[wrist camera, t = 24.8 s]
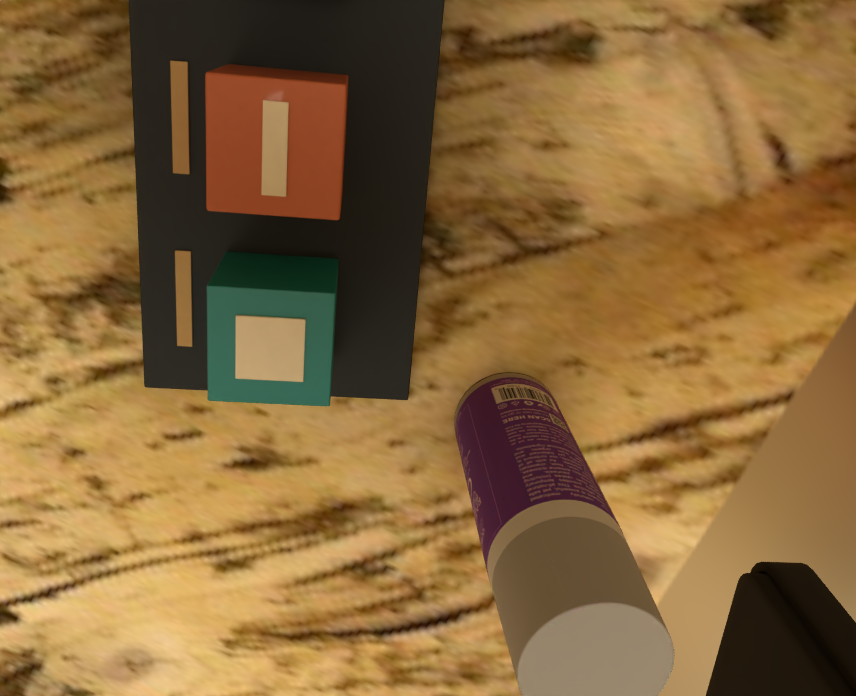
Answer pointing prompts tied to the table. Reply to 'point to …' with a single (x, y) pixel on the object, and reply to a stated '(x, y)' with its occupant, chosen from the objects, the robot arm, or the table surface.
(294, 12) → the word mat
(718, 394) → the table surface
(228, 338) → the green cube
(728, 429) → the table surface
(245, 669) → the table surface
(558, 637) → the container
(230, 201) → the orange cube
